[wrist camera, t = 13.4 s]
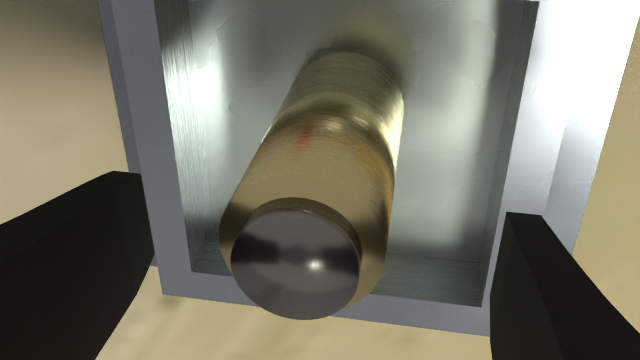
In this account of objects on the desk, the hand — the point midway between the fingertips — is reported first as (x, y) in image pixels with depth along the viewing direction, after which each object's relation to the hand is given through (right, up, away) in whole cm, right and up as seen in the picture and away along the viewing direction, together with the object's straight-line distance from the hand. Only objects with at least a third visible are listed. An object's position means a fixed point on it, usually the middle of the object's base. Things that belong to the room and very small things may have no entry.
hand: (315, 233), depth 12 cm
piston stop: (+1, +3, +4) cm, 5 cm away
